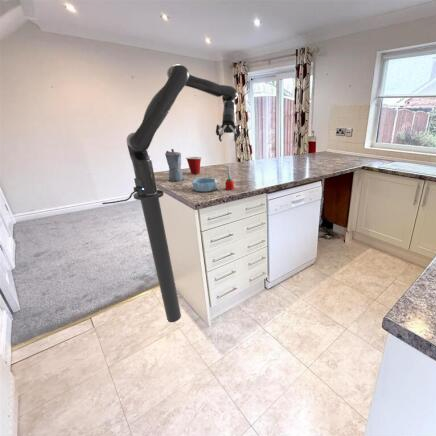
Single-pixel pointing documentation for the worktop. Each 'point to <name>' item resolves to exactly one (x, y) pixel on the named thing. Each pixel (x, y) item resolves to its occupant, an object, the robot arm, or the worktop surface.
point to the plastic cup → (194, 164)
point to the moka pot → (174, 165)
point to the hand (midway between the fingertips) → (227, 140)
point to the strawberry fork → (229, 181)
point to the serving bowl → (204, 184)
